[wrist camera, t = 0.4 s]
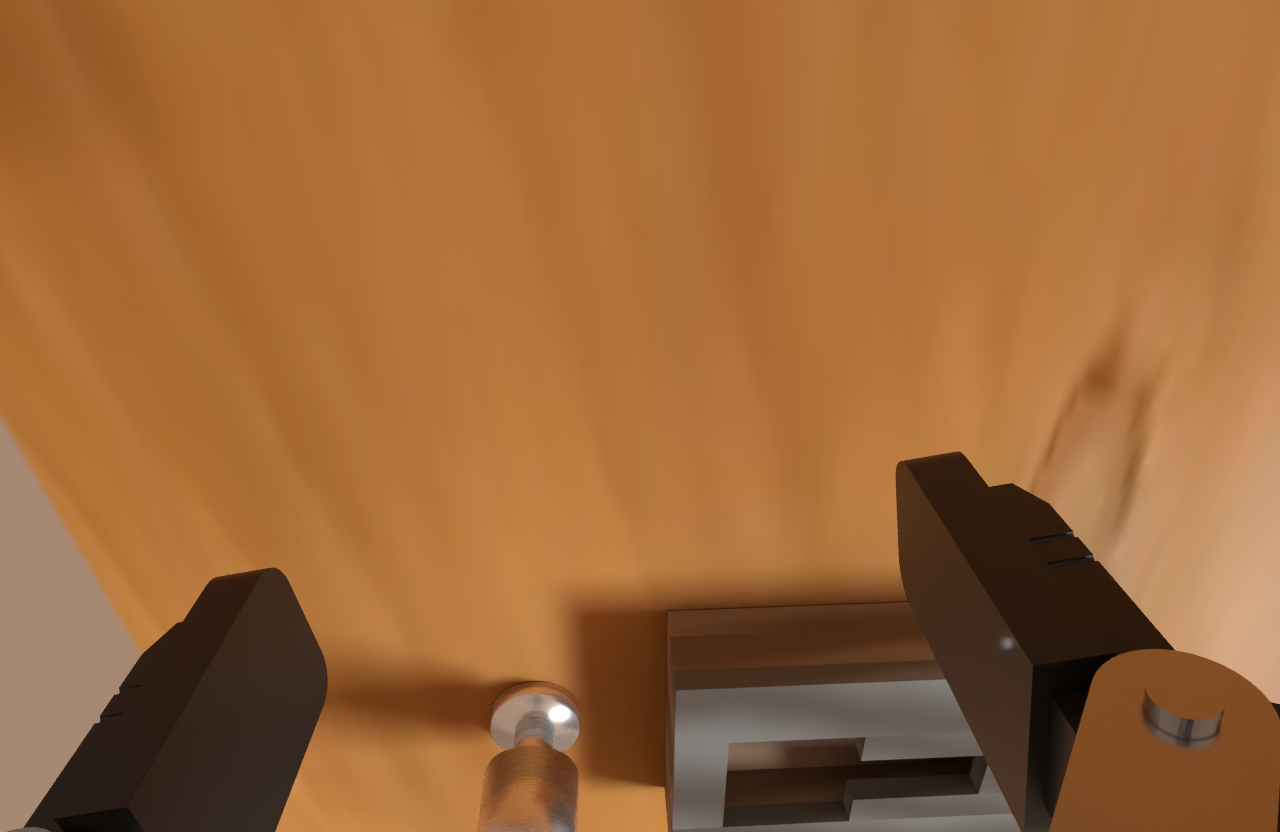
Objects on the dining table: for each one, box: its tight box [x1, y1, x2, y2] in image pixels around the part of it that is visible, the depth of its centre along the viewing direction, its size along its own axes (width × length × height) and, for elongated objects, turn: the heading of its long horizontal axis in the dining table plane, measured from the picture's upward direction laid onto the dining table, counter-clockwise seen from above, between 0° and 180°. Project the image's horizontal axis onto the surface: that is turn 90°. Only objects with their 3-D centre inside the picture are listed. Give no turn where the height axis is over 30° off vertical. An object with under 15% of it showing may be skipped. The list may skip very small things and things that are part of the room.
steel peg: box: [477, 681, 580, 832], centre depth 35 cm, size 4×4×9 cm
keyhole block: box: [665, 602, 1021, 832], centre depth 37 cm, size 12×18×4 cm, turn 90°
